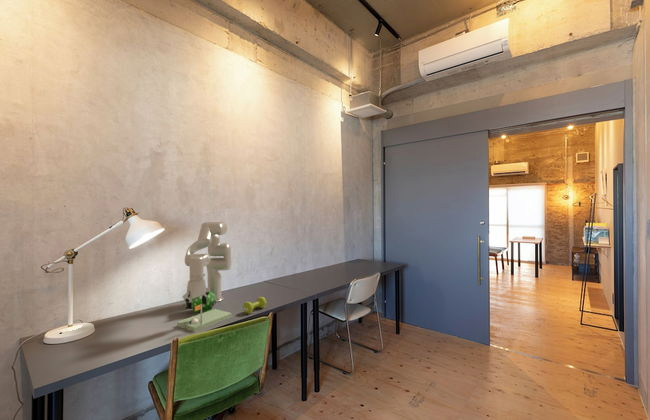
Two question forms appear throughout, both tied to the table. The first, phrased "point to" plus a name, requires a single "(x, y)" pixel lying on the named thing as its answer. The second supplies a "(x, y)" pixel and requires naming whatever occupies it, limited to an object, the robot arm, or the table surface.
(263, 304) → the dumbbell
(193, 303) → the piggy bank
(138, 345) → the table surface
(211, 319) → the green
